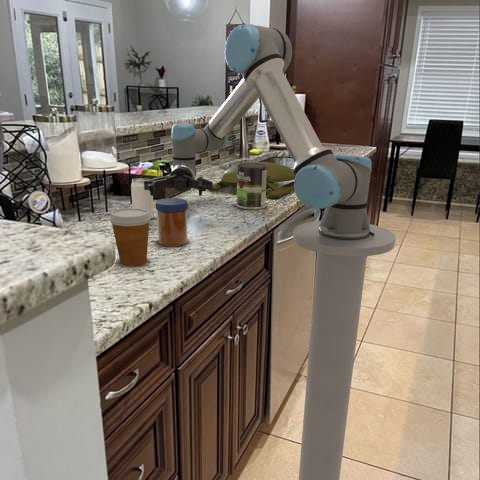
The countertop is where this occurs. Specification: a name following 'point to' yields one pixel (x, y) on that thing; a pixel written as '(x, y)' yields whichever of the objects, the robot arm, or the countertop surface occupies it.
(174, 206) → the lid
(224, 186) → the spaceship
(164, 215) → the jar
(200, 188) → the robot arm
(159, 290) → the countertop surface
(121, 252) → the disposable coffee cup
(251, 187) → the coffee can
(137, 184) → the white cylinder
